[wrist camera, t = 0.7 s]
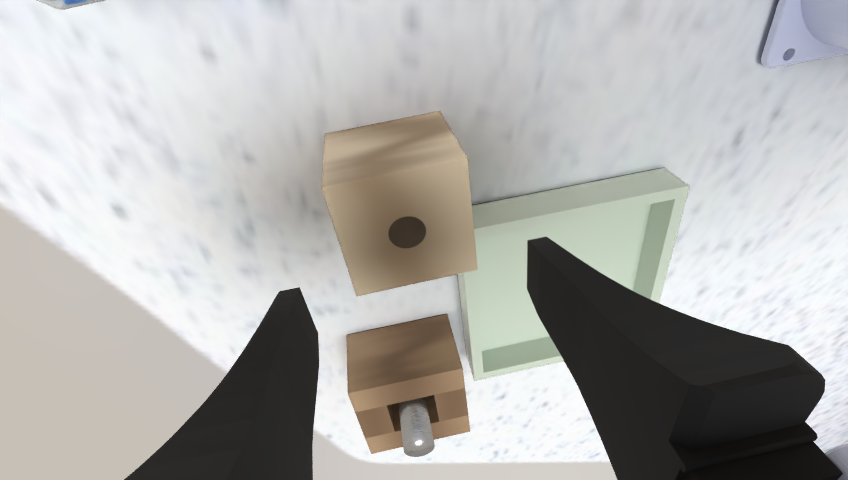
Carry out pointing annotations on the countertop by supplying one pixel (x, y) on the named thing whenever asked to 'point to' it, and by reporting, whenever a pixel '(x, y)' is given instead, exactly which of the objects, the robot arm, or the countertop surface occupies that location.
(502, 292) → the tray
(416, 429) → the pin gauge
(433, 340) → the slotted wooden block
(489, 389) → the countertop surface
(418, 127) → the block
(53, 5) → the medicine box
